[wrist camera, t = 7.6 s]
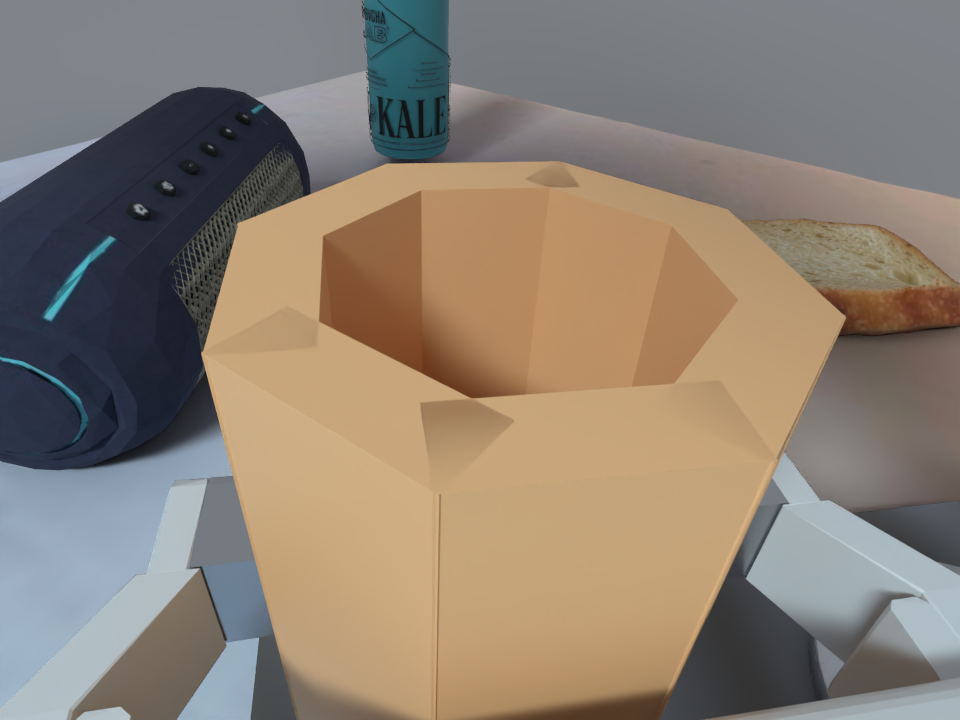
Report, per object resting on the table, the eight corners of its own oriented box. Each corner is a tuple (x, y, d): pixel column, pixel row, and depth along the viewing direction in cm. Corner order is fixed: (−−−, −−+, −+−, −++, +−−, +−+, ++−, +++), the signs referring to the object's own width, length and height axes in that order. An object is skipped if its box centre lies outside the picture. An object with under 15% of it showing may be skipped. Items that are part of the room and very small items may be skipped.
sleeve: (312, 929, 10) (153, 522, 4) (321, 578, 15) (254, 164, 9) (690, 853, 11) (984, 442, 5) (583, 549, 16) (673, 159, 10)
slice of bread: (581, 298, 39) (589, 242, 37) (718, 212, 50) (731, 164, 48) (902, 447, 30) (940, 384, 28) (986, 301, 41) (1018, 247, 38)
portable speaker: (176, 520, 25) (91, 293, 19) (-82, 503, 25) (-249, 272, 19) (332, 229, 45) (315, 73, 39) (188, 220, 45) (149, 65, 39)
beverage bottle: (407, 145, 58) (398, -137, 46) (466, 163, 55) (473, -134, 43) (354, 165, 54) (329, -140, 42) (415, 186, 51) (406, -137, 39)
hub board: (201, 1379, 11) (-154, 1605, 4) (272, 611, 22) (201, 354, 15) (1414, 1019, 15) (2160, 859, 8) (956, 524, 26) (1126, 292, 19)
